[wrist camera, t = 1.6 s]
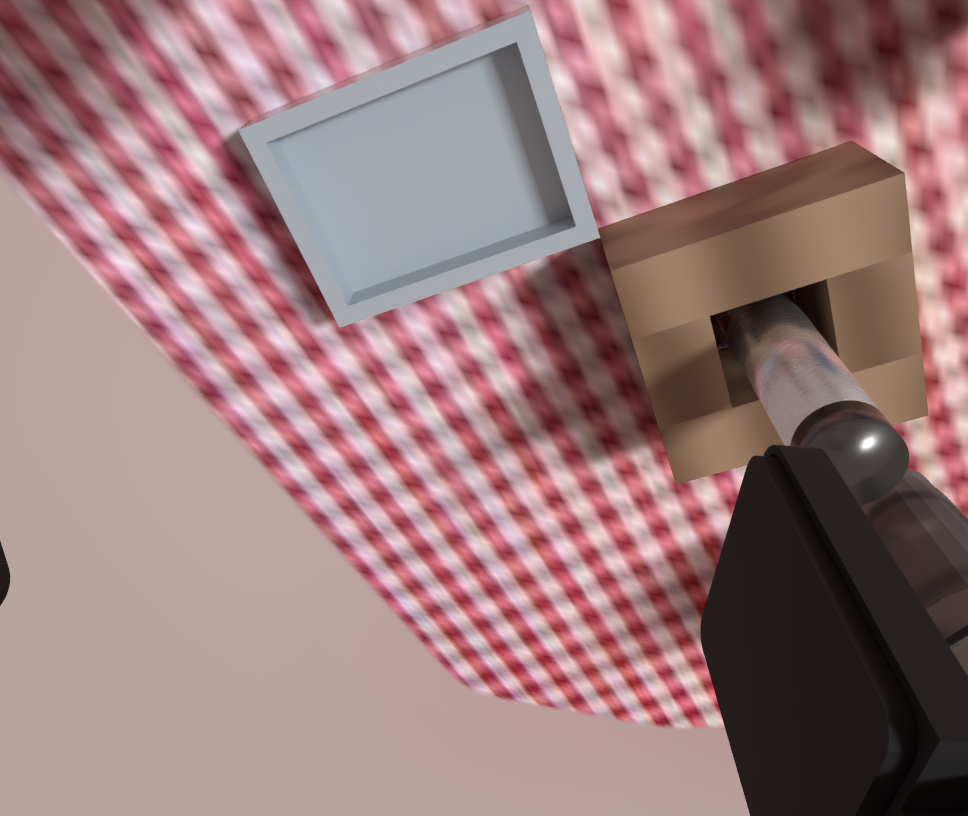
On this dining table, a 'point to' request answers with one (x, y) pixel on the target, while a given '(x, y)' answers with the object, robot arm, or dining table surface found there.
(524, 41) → the dish
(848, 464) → the pin
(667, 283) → the block
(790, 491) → the robot arm
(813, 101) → the dining table surface
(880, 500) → the beverage cup
